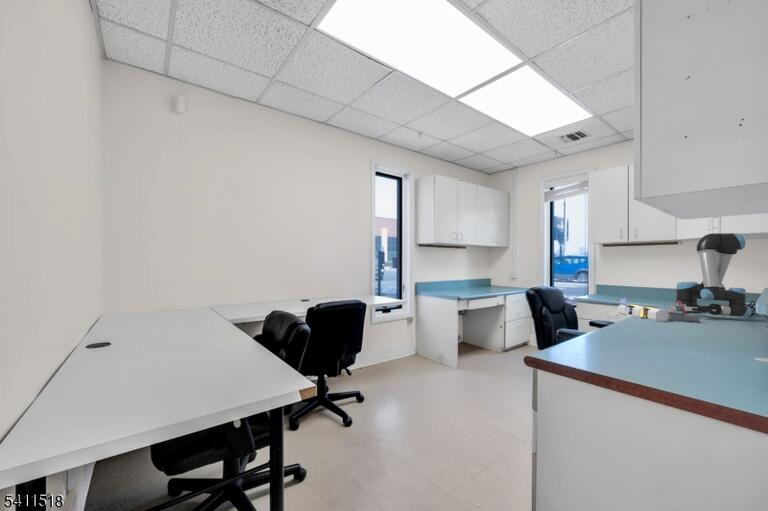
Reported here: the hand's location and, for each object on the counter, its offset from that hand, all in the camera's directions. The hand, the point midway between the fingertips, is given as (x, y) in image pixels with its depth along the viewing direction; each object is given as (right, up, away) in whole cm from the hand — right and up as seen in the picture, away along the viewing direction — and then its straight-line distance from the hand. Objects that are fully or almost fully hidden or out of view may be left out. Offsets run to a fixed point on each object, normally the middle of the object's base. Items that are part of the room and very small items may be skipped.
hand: (679, 307), depth 219 cm
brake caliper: (0, -7, +1) cm, 7 cm away
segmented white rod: (-36, -6, -10) cm, 37 cm away
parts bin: (-15, -6, -14) cm, 21 cm away
